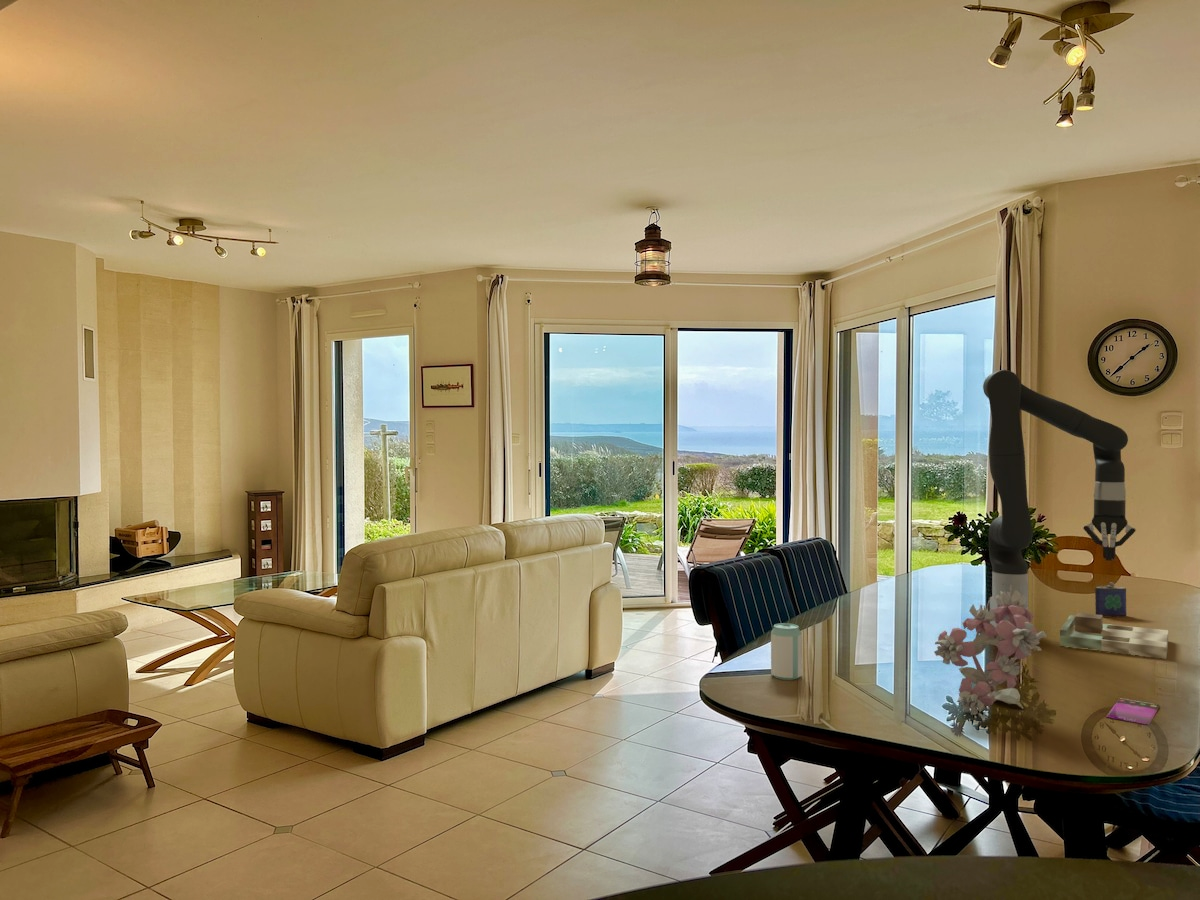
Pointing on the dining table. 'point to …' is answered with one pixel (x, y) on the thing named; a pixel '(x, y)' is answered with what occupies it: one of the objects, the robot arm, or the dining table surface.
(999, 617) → the flower
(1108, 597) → the flask
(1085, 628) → the walnut block
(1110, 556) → the robot arm
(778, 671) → the can
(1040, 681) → the dining table surface
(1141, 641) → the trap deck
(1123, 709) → the smartphone
